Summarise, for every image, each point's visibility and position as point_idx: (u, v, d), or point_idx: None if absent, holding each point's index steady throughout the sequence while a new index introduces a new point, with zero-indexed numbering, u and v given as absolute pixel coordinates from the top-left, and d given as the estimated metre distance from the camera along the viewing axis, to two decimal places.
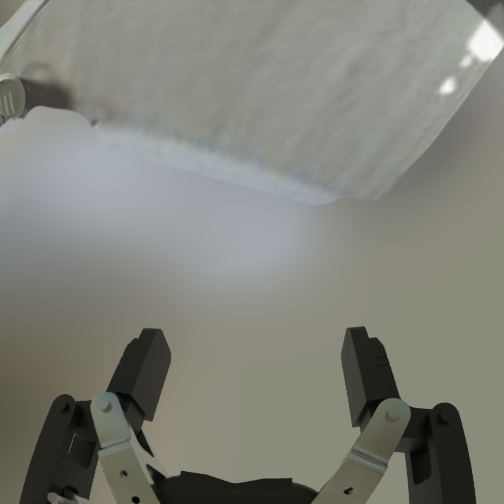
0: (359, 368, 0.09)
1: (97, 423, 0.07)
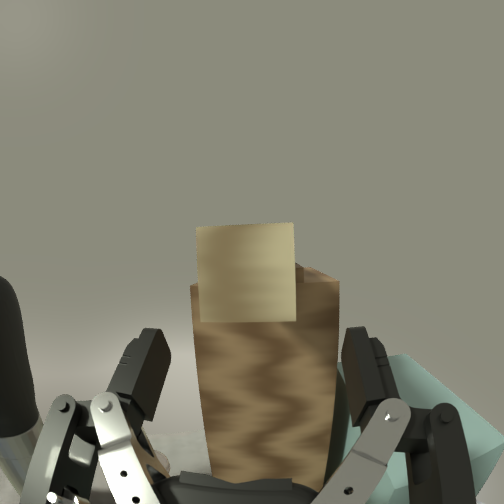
0: (359, 368, 0.09)
1: (97, 423, 0.07)
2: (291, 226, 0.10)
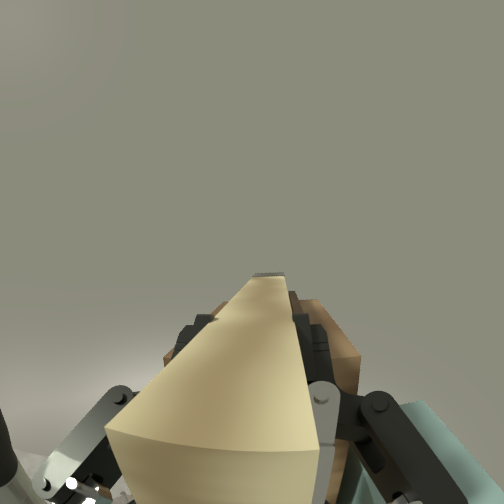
0: None
1: None
2: (314, 457, 0.03)
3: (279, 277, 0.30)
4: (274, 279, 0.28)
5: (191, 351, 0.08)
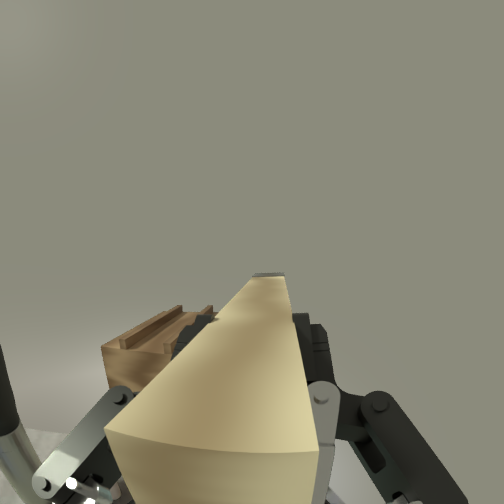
0: None
1: None
2: (313, 458, 0.03)
3: (279, 277, 0.30)
4: (274, 279, 0.28)
5: (191, 351, 0.08)
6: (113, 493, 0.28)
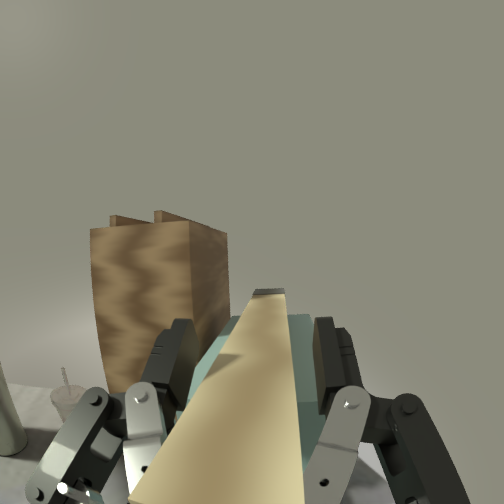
0: (322, 355, 0.09)
1: (129, 412, 0.07)
2: None
3: (279, 296, 0.29)
4: (274, 299, 0.28)
5: (195, 409, 0.08)
6: None
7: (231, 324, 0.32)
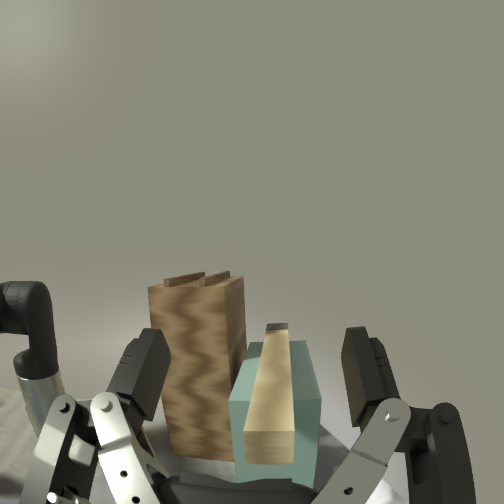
0: (359, 368, 0.09)
1: (97, 423, 0.07)
2: (293, 432, 0.16)
3: (284, 331, 0.42)
4: (281, 335, 0.40)
5: (254, 402, 0.20)
6: None
7: (250, 350, 0.44)
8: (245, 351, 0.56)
